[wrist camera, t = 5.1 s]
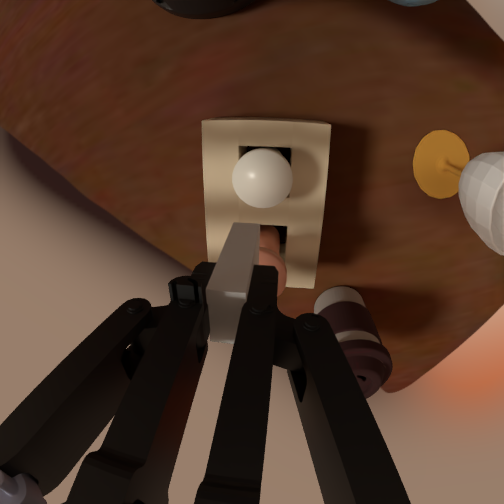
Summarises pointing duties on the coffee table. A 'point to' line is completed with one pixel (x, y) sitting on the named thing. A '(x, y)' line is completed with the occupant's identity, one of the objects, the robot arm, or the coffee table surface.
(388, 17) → the coffee table surface
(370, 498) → the robot arm
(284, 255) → the beech block
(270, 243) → the terracotta plug
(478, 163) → the cup
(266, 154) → the ivory plug
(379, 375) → the coffee cup
